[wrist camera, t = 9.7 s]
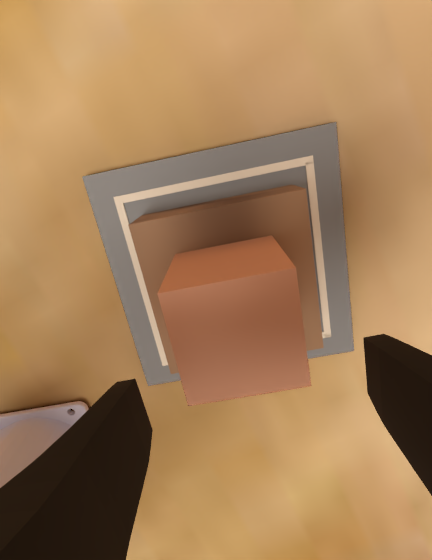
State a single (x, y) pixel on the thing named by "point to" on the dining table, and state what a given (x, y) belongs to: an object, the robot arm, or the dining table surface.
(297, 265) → the walnut base block
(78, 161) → the dining table surface
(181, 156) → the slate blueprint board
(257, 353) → the terracotta block
